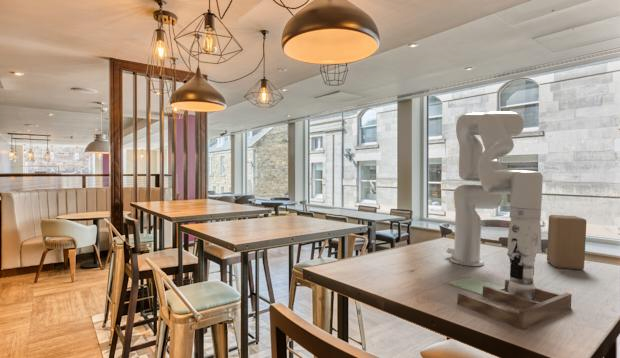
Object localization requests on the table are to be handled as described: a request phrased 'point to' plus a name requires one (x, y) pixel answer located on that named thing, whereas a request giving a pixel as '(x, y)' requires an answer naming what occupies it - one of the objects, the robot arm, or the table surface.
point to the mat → (474, 285)
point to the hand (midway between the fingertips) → (521, 275)
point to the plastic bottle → (524, 277)
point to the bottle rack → (518, 305)
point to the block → (566, 241)
